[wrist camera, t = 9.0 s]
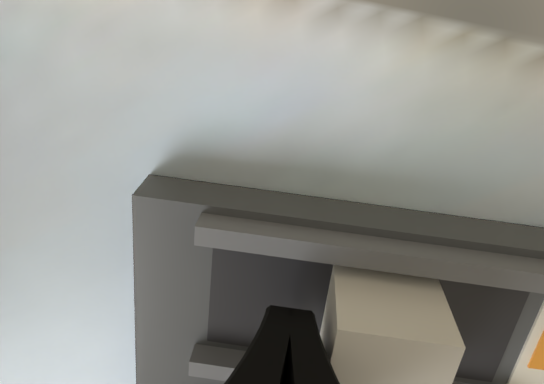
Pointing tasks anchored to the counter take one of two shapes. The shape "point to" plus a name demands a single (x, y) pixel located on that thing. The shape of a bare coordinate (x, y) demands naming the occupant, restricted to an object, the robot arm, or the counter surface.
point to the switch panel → (318, 275)
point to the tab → (389, 329)
